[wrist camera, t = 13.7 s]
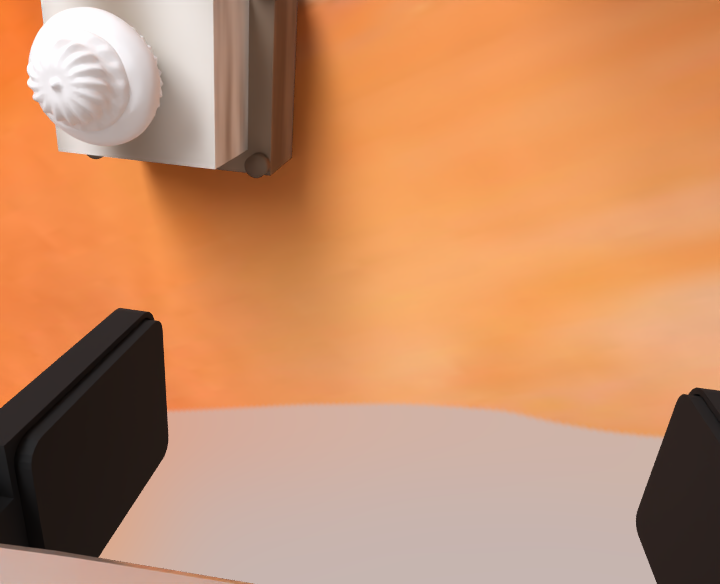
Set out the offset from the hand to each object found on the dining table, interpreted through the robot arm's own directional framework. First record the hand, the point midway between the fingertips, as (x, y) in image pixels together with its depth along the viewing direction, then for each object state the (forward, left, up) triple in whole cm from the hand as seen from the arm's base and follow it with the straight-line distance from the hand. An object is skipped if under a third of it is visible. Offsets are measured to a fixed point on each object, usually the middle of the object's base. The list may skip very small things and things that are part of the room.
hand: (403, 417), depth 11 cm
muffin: (+16, -3, -22) cm, 28 cm away
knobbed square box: (+16, -3, -34) cm, 38 cm away
